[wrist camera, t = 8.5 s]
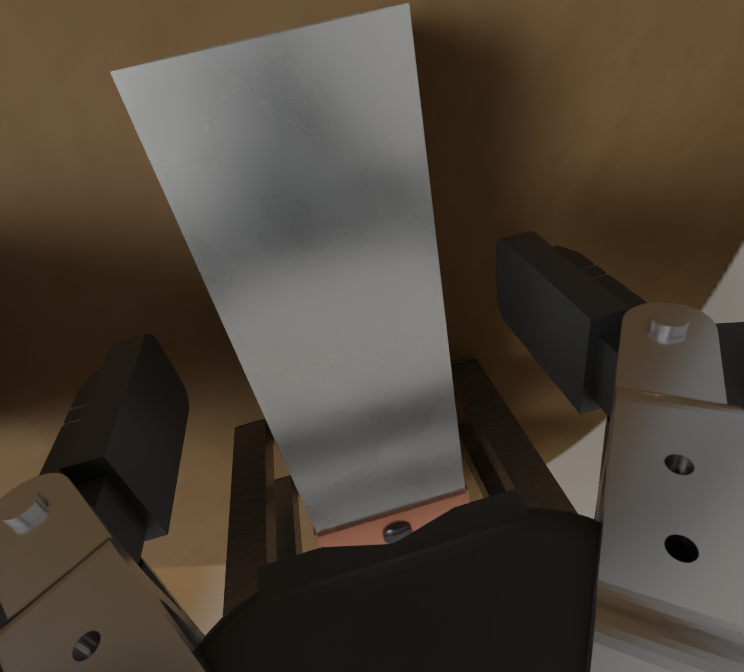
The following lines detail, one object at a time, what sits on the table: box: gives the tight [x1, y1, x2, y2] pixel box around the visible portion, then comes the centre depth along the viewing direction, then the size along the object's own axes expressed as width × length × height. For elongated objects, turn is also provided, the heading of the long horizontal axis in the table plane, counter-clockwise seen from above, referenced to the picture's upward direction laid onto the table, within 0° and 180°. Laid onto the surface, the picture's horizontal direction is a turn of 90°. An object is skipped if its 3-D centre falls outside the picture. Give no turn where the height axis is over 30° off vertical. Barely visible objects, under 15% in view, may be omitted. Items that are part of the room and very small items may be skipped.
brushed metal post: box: [110, 3, 470, 548], centre depth 15 cm, size 18×5×5 cm, turn 11°
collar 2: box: [223, 359, 578, 616], centre depth 15 cm, size 1×10×9 cm, turn 101°
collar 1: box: [274, 424, 506, 561], centre depth 17 cm, size 1×10×9 cm, turn 101°
